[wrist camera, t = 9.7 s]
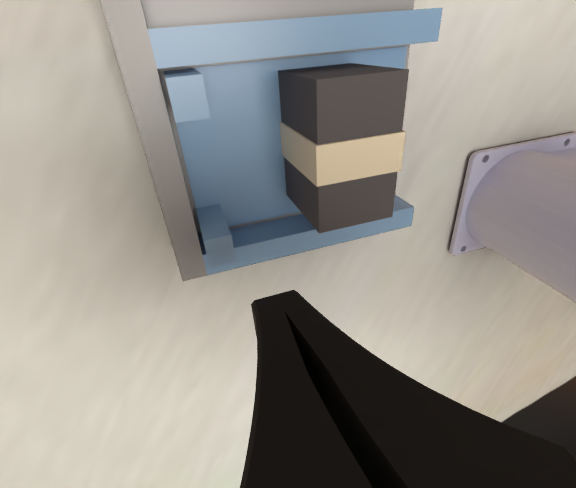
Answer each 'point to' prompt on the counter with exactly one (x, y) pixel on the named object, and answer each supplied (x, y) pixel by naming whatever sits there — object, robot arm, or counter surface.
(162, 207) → the board
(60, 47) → the counter surface
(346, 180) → the dark striped block
